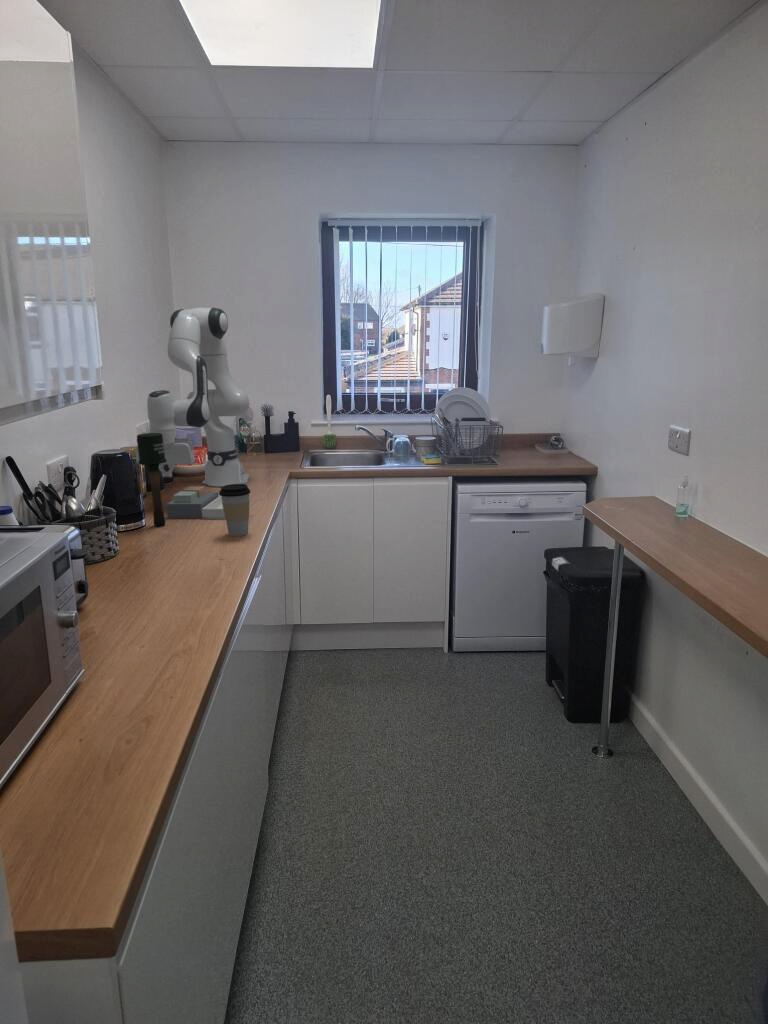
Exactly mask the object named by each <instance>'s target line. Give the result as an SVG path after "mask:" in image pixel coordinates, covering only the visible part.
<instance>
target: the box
mask: <svg viewBox="0 0 768 1024" xmlns="http://www.w3.org/2000/svg"><path fill="white" fill-rule="evenodd" d="M218 496H219V497H218V498H216V499H215V500H213V501H212V502H211V503H209V504H208V505H206V506H205V507H204V508H202V518H201V519H202V520H225V515H224V510H223V505H222V497H221V496H220V495H218Z"/></svg>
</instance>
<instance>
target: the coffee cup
mask: <svg viewBox="0 0 768 1024" xmlns="http://www.w3.org/2000/svg"><path fill="white" fill-rule="evenodd" d="M250 494H251V489H250V488H249V487H248V484H246V483H244V484H230V485H225V486H220V490H219V491H218V496H221V497H222V505H223V510H224V515H225V519H224V521H225V523H226V528H227V532H228V536H232V537H242V536H246V535H248V534H249V519H250Z"/></svg>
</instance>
